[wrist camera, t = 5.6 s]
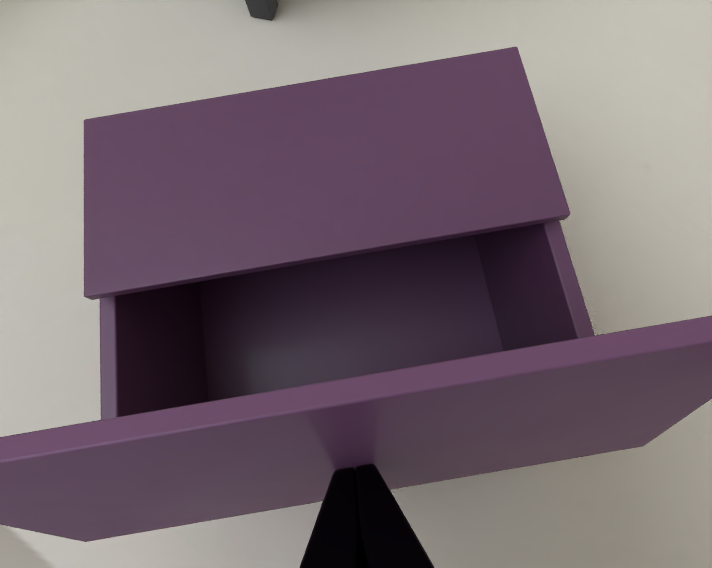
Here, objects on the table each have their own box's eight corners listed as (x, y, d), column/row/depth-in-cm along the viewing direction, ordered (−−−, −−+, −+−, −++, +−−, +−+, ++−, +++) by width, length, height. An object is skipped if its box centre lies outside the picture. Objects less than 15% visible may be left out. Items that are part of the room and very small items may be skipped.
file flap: (635, 430, 11) (644, 446, 11) (88, 524, 11) (84, 542, 11) (802, 298, 6) (824, 322, 6) (-151, 461, 6) (-167, 491, 6)
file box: (529, 423, 19) (645, 439, 11) (206, 478, 19) (81, 536, 11) (465, 174, 22) (518, 43, 14) (188, 221, 22) (81, 117, 14)
